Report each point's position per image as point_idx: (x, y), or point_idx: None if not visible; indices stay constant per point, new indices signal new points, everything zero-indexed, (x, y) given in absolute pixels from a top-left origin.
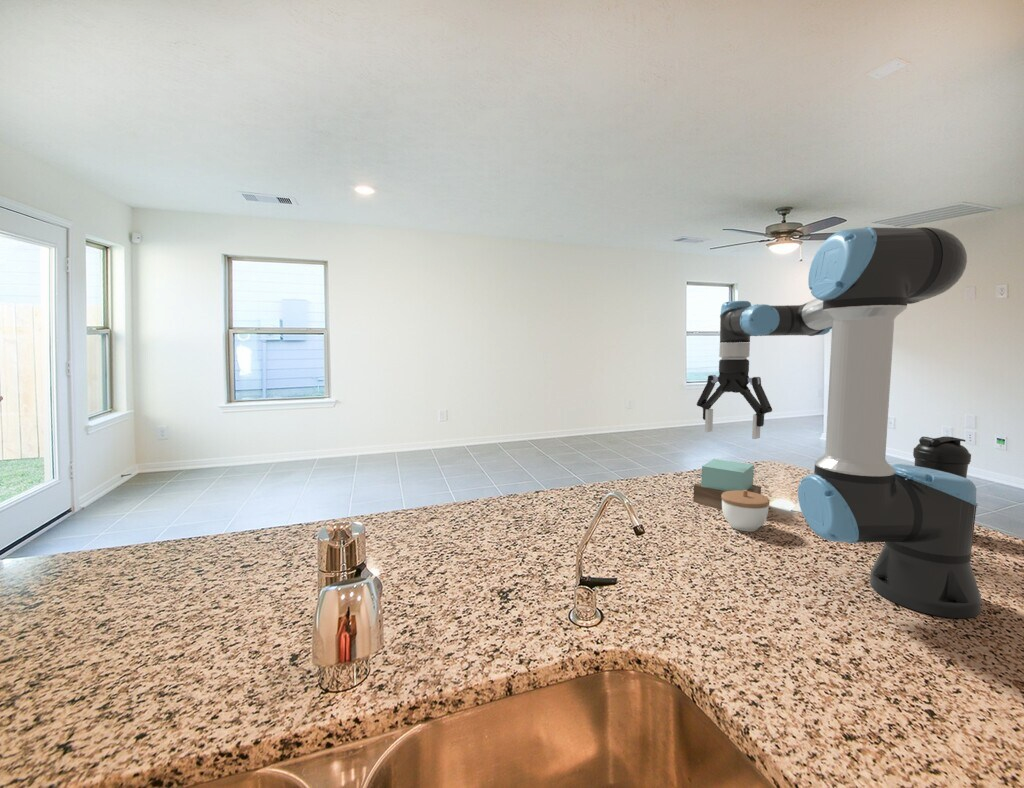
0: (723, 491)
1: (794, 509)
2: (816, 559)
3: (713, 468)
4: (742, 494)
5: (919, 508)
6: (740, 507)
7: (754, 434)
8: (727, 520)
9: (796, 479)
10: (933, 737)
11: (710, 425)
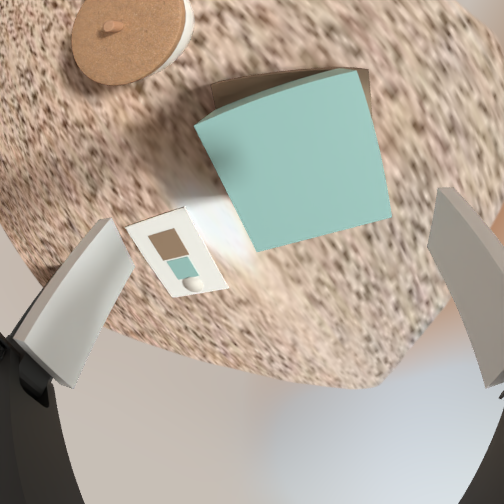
0: (264, 81)
1: (183, 215)
2: (32, 54)
3: (308, 82)
4: (131, 30)
5: None
6: None
7: (88, 235)
8: None
9: (300, 356)
10: None
11: (449, 251)
